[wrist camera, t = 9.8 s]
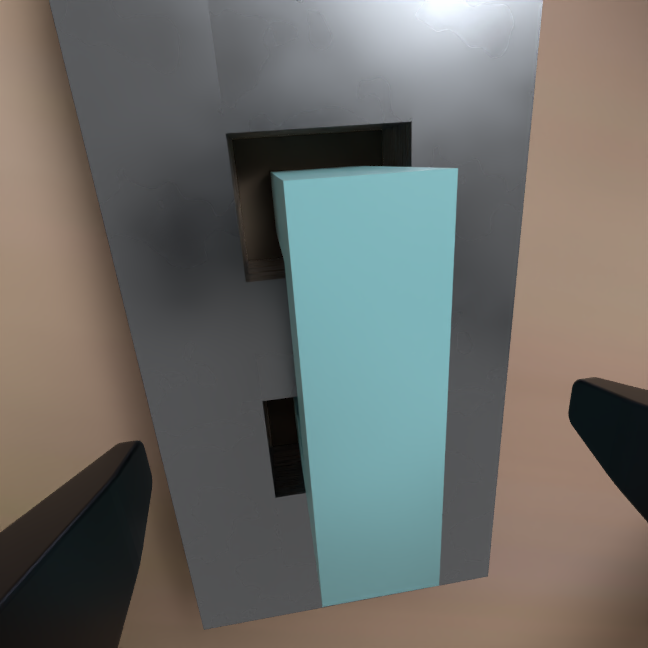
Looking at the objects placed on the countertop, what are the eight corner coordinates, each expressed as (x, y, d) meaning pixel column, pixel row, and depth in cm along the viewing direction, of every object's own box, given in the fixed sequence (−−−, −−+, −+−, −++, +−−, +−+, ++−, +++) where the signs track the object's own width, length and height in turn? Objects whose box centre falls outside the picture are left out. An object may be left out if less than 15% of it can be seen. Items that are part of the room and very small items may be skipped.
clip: (357, 165, 15) (458, 168, 7) (365, 414, 18) (438, 585, 11) (270, 171, 14) (283, 180, 7) (295, 424, 18) (322, 606, 11)
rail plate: (493, -100, 13) (559, -175, 10) (457, 522, 21) (487, 576, 19) (65, -98, 11) (4, -182, 9) (211, 564, 20) (203, 629, 17)
